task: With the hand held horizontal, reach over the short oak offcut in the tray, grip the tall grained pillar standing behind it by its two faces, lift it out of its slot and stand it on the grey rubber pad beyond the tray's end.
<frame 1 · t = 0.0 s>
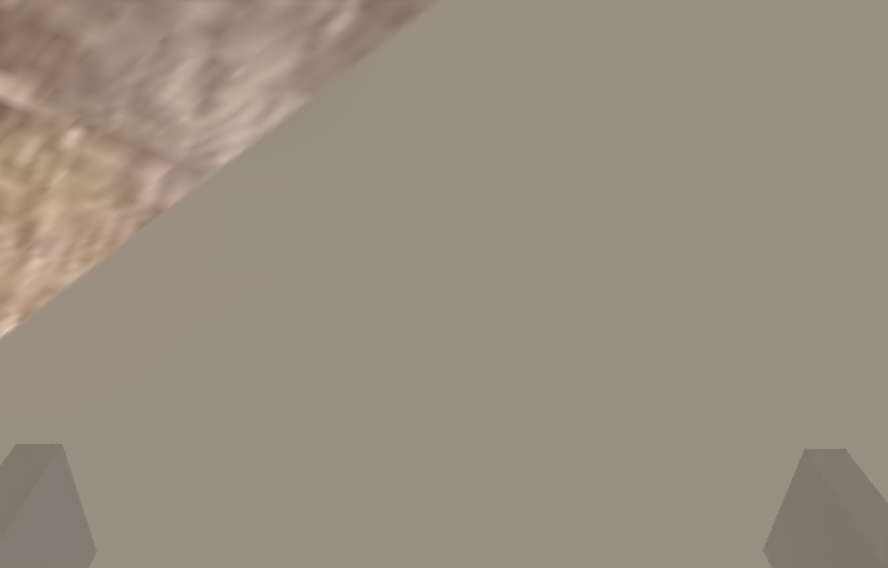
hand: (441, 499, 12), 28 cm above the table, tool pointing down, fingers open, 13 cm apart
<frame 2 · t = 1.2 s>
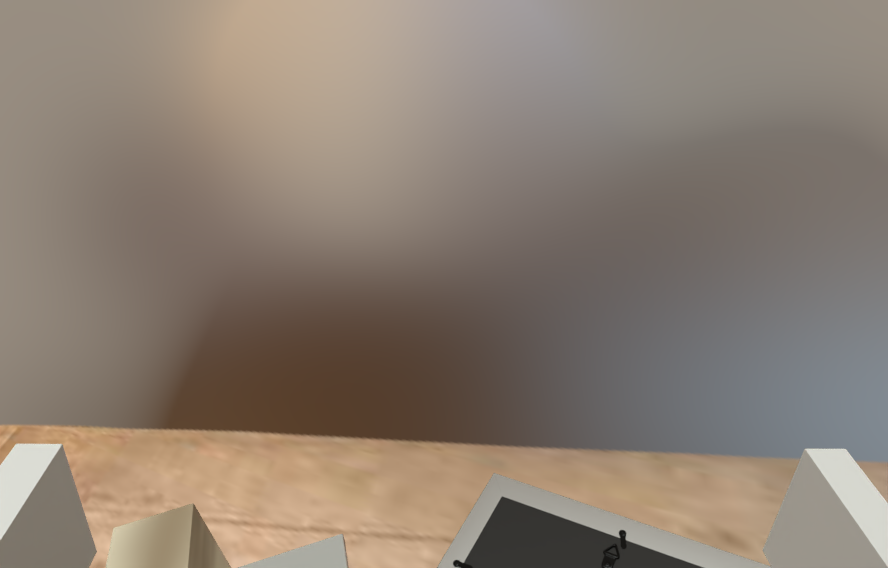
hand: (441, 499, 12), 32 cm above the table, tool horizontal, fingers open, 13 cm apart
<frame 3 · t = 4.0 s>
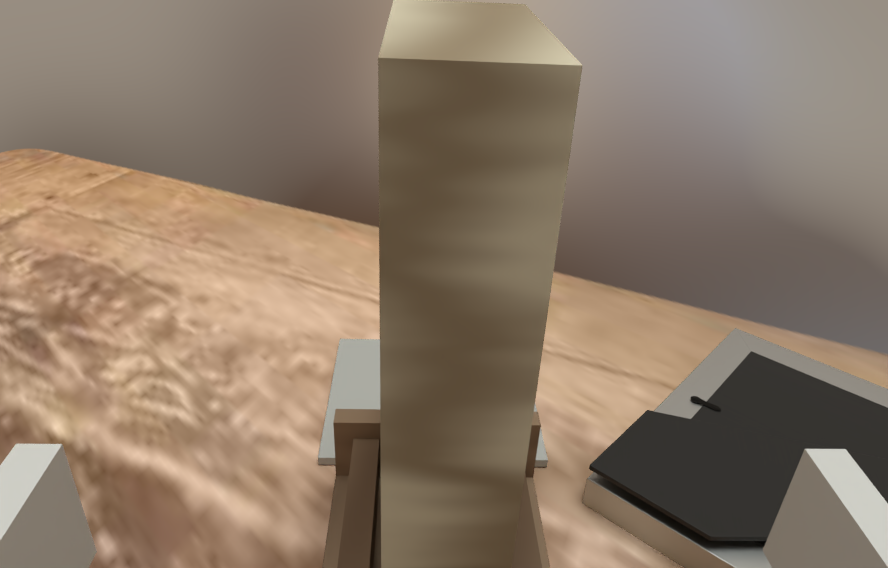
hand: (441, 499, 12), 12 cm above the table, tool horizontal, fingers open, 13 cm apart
tall grained pillar: (437, 565, 24), point 1 cm above the table, touching tray
rubber pad: (432, 399, 33), on the table
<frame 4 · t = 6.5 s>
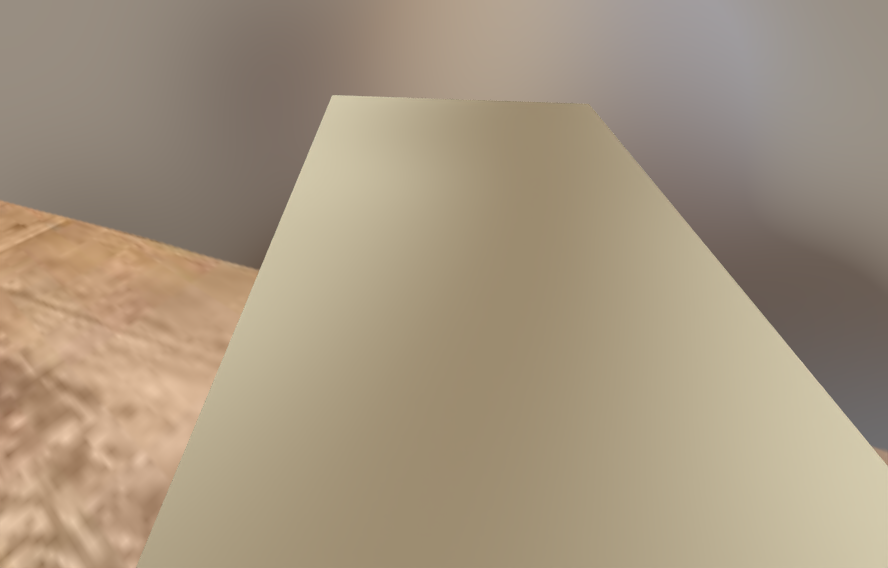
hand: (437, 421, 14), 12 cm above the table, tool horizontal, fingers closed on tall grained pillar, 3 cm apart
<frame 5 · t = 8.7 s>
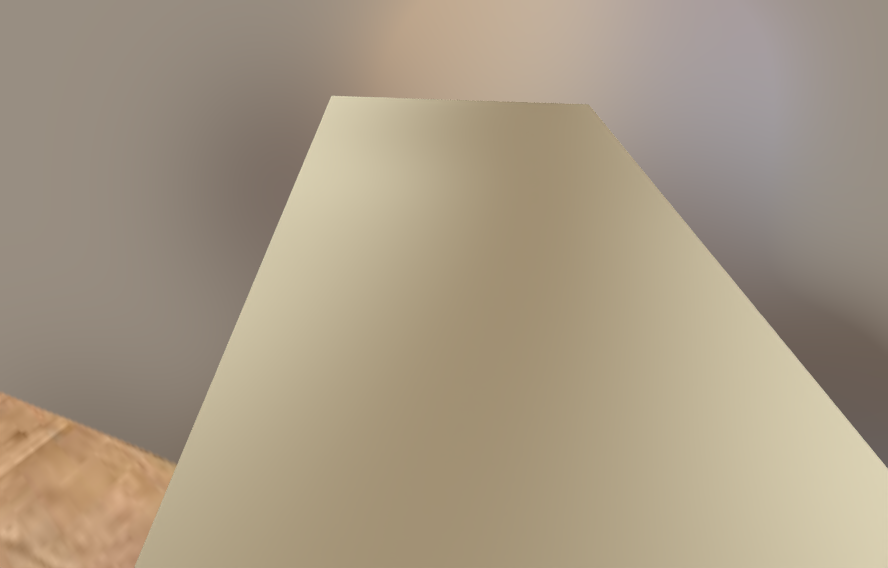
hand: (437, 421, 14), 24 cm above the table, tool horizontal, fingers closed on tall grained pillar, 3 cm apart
when the fingers open (13 cm above the table, at t = 11.2 s): tall grained pillar drops 1 cm, resting on rubber pad.
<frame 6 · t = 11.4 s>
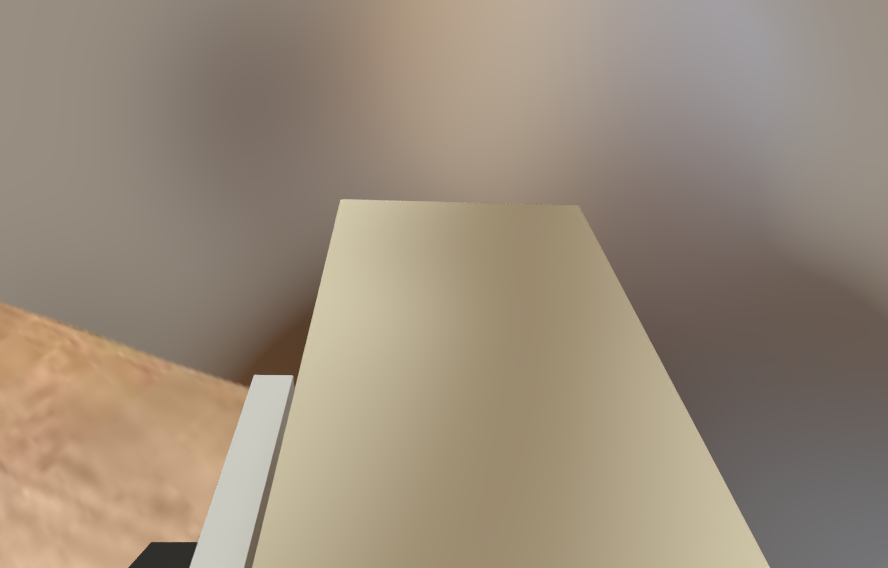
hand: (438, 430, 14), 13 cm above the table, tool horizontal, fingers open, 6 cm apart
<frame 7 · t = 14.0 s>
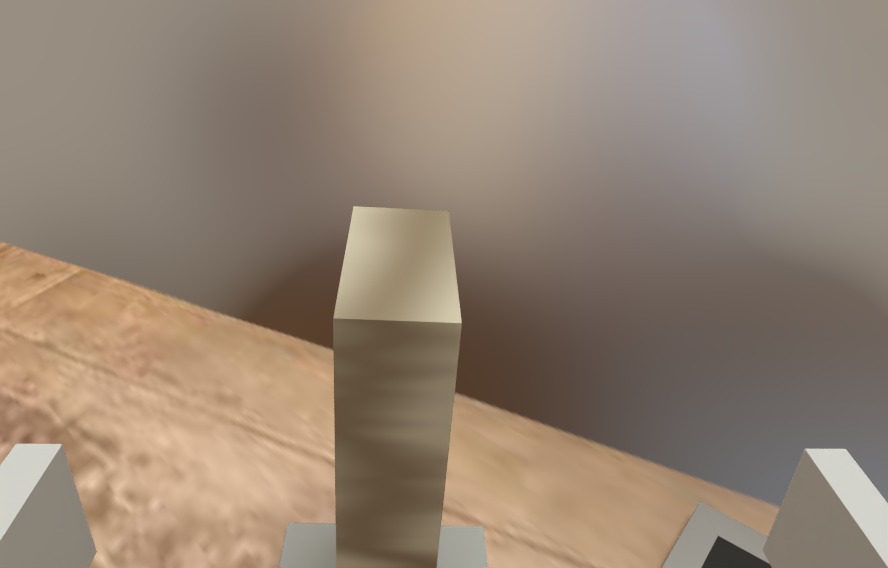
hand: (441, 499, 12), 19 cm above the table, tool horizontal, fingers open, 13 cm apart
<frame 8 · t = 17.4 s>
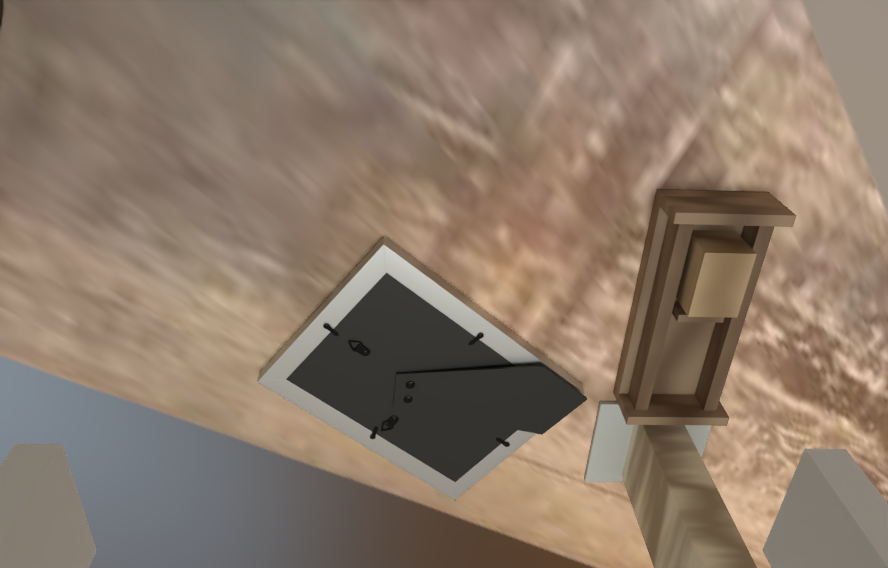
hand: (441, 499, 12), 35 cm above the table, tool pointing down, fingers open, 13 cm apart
oak offcut: (702, 261, 49), point 1 cm above the table, touching tray
tall grained pillar: (648, 444, 59), resting on rubber pad
rubber pad: (648, 441, 59), on the table
picture frame: (423, 370, 55), on the table
tray: (684, 300, 52), on the table
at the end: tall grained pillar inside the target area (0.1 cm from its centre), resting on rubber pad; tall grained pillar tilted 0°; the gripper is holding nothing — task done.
